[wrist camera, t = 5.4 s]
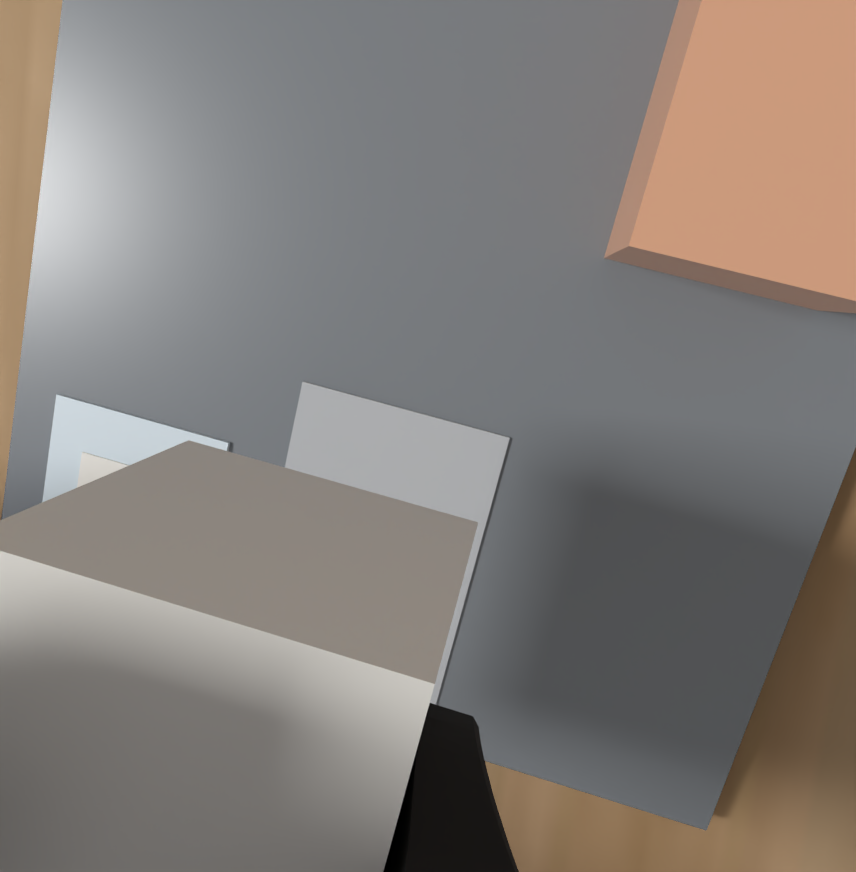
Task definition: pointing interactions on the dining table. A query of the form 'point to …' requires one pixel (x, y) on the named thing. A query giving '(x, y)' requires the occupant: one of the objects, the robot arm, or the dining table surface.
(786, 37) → the terracotta brick
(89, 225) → the baseplate
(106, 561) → the off-white brick
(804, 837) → the dining table surface
